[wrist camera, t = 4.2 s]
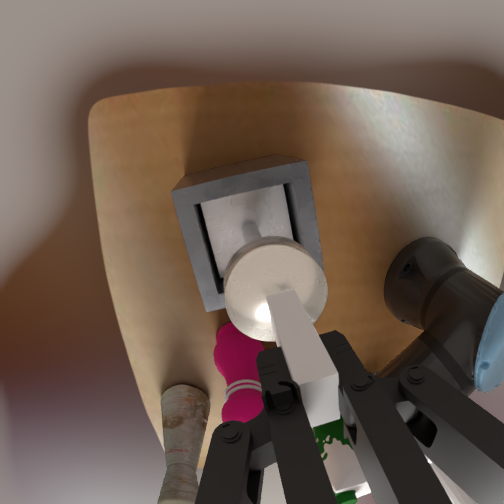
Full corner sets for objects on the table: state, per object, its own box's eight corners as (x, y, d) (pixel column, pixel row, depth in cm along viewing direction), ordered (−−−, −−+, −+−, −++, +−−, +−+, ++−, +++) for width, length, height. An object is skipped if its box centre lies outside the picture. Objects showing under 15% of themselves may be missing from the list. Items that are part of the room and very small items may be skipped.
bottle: (202, 377, 49) (206, 532, 23) (215, 410, 52) (226, 548, 26) (154, 384, 49) (134, 531, 22) (171, 416, 52) (164, 549, 26)
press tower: (277, 154, 38) (307, 160, 26) (294, 241, 43) (325, 282, 30) (184, 175, 38) (170, 191, 26) (207, 262, 42) (206, 312, 30)
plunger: (280, 181, 30) (336, 216, 17) (294, 255, 33) (346, 334, 19) (200, 200, 30) (190, 251, 16) (220, 273, 33) (227, 365, 19)
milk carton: (309, 419, 56) (336, 499, 38) (350, 409, 57) (386, 483, 38) (308, 442, 59) (332, 515, 41) (346, 432, 60) (376, 501, 41)
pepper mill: (269, 337, 48) (299, 439, 29) (234, 362, 49) (248, 465, 30) (238, 308, 45) (257, 413, 26) (203, 336, 46) (203, 443, 27)
